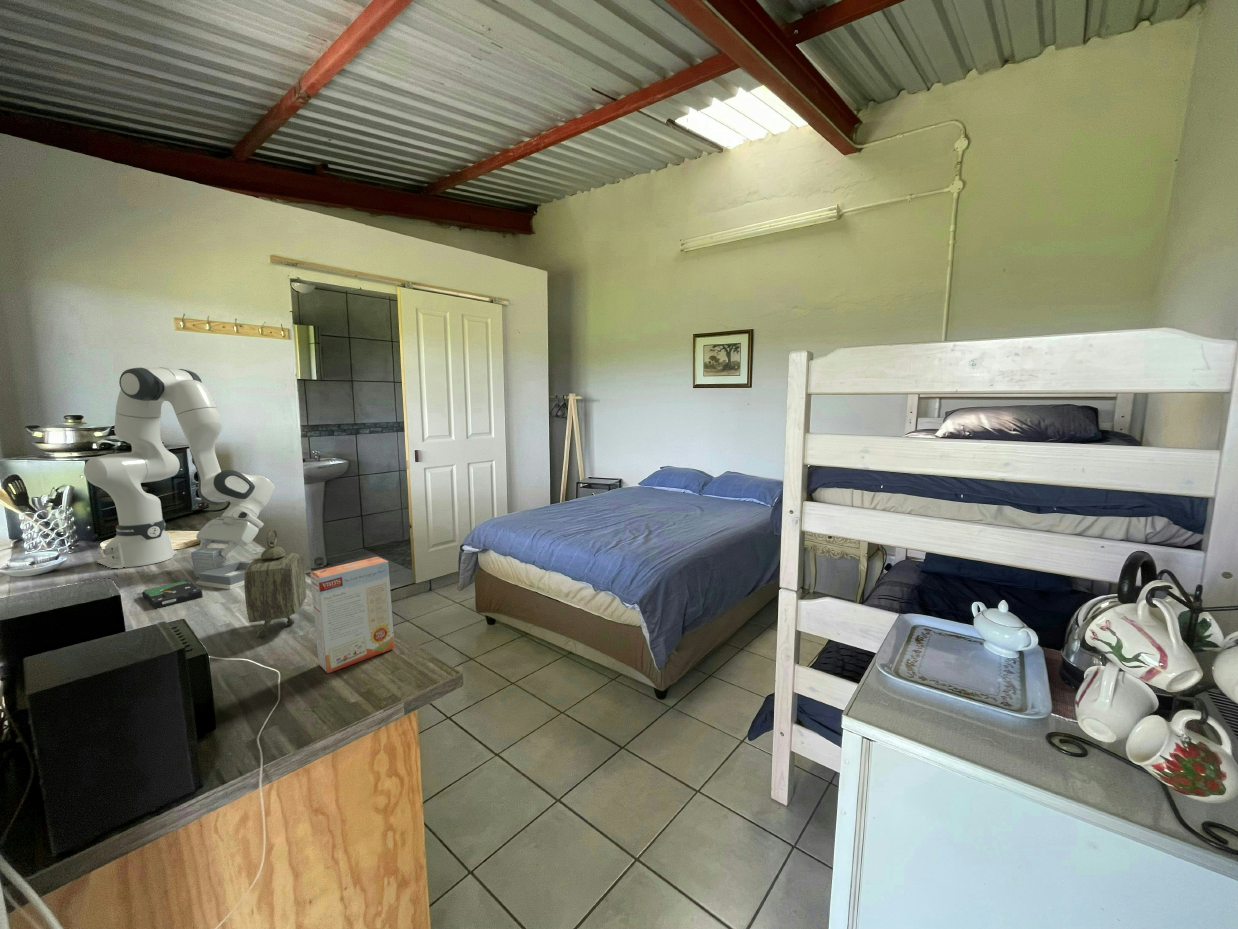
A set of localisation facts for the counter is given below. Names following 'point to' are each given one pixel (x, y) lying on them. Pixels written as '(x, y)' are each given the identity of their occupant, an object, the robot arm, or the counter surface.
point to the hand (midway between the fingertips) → (210, 554)
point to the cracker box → (352, 612)
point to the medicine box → (207, 560)
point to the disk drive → (172, 594)
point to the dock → (224, 576)
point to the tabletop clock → (274, 585)
